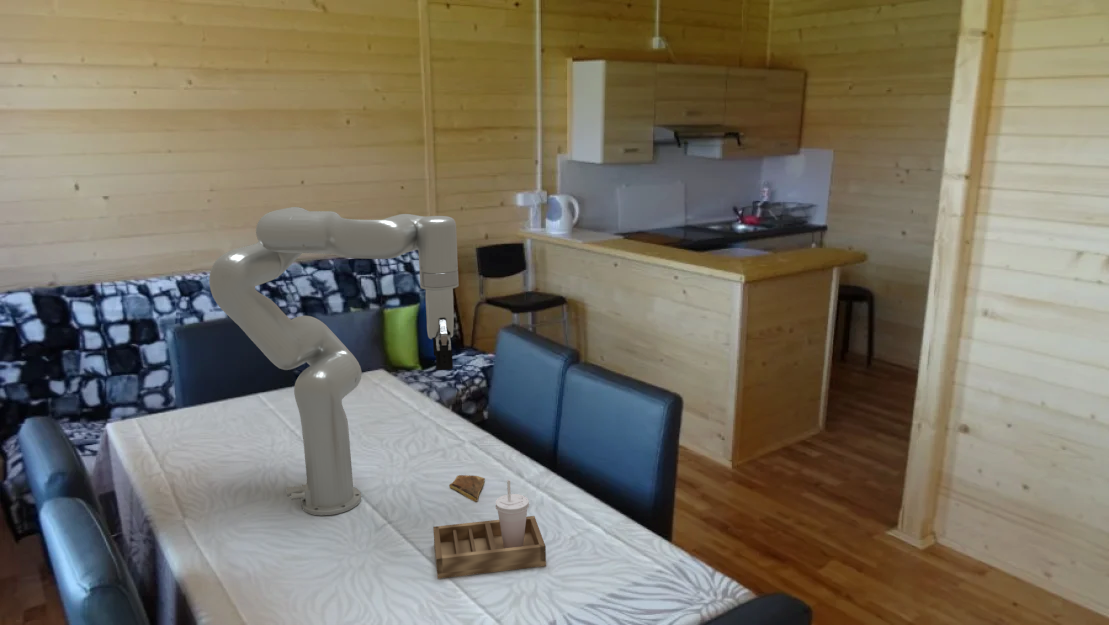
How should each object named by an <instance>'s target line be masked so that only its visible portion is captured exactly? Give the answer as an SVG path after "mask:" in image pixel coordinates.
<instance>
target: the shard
mask: <svg viewBox="0 0 1109 625" xmlns="http://www.w3.org/2000/svg"><path fill="white" fill-rule="evenodd" d="M485 480H486V478H485V477H483V476H480V475H469V474H468V475H466V474H465V475H464V474H463V475H462V474H461V475H460V474H459V475H457V476H456V478H455V479H454V480H453V482H451V483H450V484H449V488H450V489H451V490H455V491H458V493H459V494H461V495H463V496H464V497H466V498H468V499H469V500H471V501H473V502H478V499H479V496H480V491H481V490H482V489H483V486H484V484H485Z"/></svg>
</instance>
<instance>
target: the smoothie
mask: <svg viewBox="0 0 1109 625" xmlns="http://www.w3.org/2000/svg"><path fill="white" fill-rule="evenodd" d="M506 482H507V484H506V486H507V488H506V489H507V494H504V495H501V496H499V497H497V499H496V500H495V507H494V508H495V509H496V510H497V514H498V520H499V521H500V527H501V533H502V539H503V545H504V548H512V547H521V546H523V544H524V535H525V525H526V517H528V516H527V515H528V510H529V507H530V501H529V498H528V497H526V495H525V496H524V495H522V494H518V493H516V494H515V493H511V492H512V491H511V479H507V480H506Z"/></svg>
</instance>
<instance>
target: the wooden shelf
mask: <svg viewBox="0 0 1109 625" xmlns="http://www.w3.org/2000/svg"><path fill="white" fill-rule="evenodd" d="M537 522H538V521H537V519H536V516H535V515H529V516H526V525H525V535H524V544H523V546H521V547H512V548H504V545H503V539H502V533H501V527H500V521H499V519H493V520H491V519H490V520H482V521H475V522H474V521H473V522H466V523H464V522H463V523H455V524H446V525H445V524H444V525H436V526H433V528H432V530H433V531H432V532H433V546H434V556H435V566H436V575H437V580H439V579H440V580H441V579H447V578H455V577H456V578H457V577H464V576H473V575H480V574H489V573H497V572H499V573H500V572H505V571H515V570H522V569H531V568H540V567H547V566H546V565H547V560H546V558H547V551H546V548H547V547H546V543H545V542H544V538H543V536H542V534H541V531H540V527H539V524H538V523H537Z"/></svg>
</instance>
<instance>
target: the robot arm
mask: <svg viewBox="0 0 1109 625" xmlns="http://www.w3.org/2000/svg"><path fill="white" fill-rule="evenodd" d="M455 220H456V219H454V218H453V217H450V216H447V215H431V216H430V215H429V216H422V215H417V214H410V213H399V214H397V215H392V216H389V217H386V218H383V219H354V218H352V219H351V218H345V217H341V215H340V214H339V213H337V212H336V211H331V210H329V211H327V210H323V211H322V210H320V211H319V210H313V211H312V210H311V211H309V210H307V209H305V208H302V207H298V206H291V207H286V208H280V209H277V210H273V211H270V212H267V213H265V214H263V215H262V216H261V218H260V219H259V220H258V222H257V223H256V227H255V235H256V238H257V240H258V241H257V242H256V243H253V244H250V245H247V246H242V247H237V248H235V249H232V250H229V251H227V252H225V253H223V254H222V255H220V256H219V257H218V258H217V259H216V260H215V261H214V263H213V264H212V266H211V269H210V272H209V280H208V281H209V289H210V293H211V295H212V297H213V299H214V301H215V302H216V305H218V307H219V308H220V309H221V310H222V311H223V312H224V313H225V314H226V315H227V316H228V317H229V318H230V319H231V320H232V321H233V322H234V323H235V324H236V325H237V326H239V328H240V329H241V330H242V331H243V332H244V333H245V335H246V336H247V337H248V339H250V340H251V341H252V342H253V344H254V345H255V346H256V347H257V348H258V349H259V350H260V351H261V352H262V353H263V355H264V356H265V357H266V358H267V359H268V360H269V361H270V363H272V364H273V365H274V366H275V367H277V368H278V369H279V370H280V369H281V370H284V371H288V370H289V371H290V370H294V369H296V368H298V367H300V366H302V365H304V364H305V363H306V364H308V365H309V366H308V367H307V368H305V369H304V370H302V372H300V374H299V376H298V377H297V379H296V381H295V383H294V387H293V392H294V399H295V402H296V406H297V409H298V412H299V418H300V424H301V433H302V435H301V436H302V441H303V454H304V464H305V472H306V474H305V476H306V482H305V484H301V486H290V487H289V486H287V487H286V497H291V498H290V499H291V500H292V501H294V500H301V501H300V502H301V509H302V510H303V511H305V513H308V514H311V515H314V516H333V515H338V514H342V513H345V512H347V511H350V510H352V509H354V508H355V507H357V505H359V504H360V502H361V501H362V492H361V490H359V488H357V487H355V486H354V481H353V468H352V467H353V466H352V456H351V455H352V454H351V443H350V442H351V441H350V431H349V421H348V416H347V414H346V412H345V408H344V407H343V406H344V405H343V399H344V398H345V397H346V396H348V395H349V394H350V393H352V391H354V390H355V389H356V388H357V387H358V386H359V384H360V383H361V379H362V374H363V373H362V368H361V365H360V363H359V361H358V360H357V358H356V357H355V355H354V354H353V353H352V352H351V351H350V350H349V349H348V347H346V345H345V344H344V343H343V342H342V340H340V338H338V337H337V335H336V334H335V333H334V332H333V331H332V330H331V329H330V328H329V327H328V326H327V324H325V323H324V322H323V321H322V320H320V319H318V318H316V317H314V316H311V315H300V316H296V317H294V318H290V317H289V316H287V315H286V313H284V311H282V309H281V308H280V307H279V306H278V304H276V303H275V302H274V301H273V300H272V299H271V298H269V297H267V296H266V295H264V294H263V293H260V292H259V291H258V290H257V289H256V287H257V286H261V285H263V284H265V283H268V282H271V281H273V280H275V279H277V278H278V277H280V276H281V275H283V273H285V271H286V270H288V269H289V268H290V266H292V264H293V263H294V262H295V261H296V260H297V259H298V258H299V257H300V256H301V255H302V254H318V255H319V254H320V255H322V254H323V255H325V254H326V255H335V256H337V257H342V258H343V257H344V258H349V259H362V260H363V259H365V260H367V259H369V260H370V259H371V260H381V259H382V260H386V259H387V260H388V259H394V258H397V257H400V256H401V255H404V254H407V253H409V252H412V251H418V265H419V268H418V269H419V284H420V285H419V286H420V289H421V290H425V311H426V312H425V314H426V317H425V318H426V332H427V338H428V339H430V340H432V342H433V343H432V344H433V346H432V347H433V348H432V349H433V355H434V357H435V368H436V370H437V371H445V370H452V369H453V368H454V364H453V362H454V361H453V349H452V342H451V338H453V336H454V326H455V325H454V320H455V319H454V318H455V317H454V289H456V288H458V287H459V286H460V285H459V267H458V266H459V265H458V264H459V263H458V240H457V239H458V236H457V235H458V234H457V223H456V221H455Z"/></svg>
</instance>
